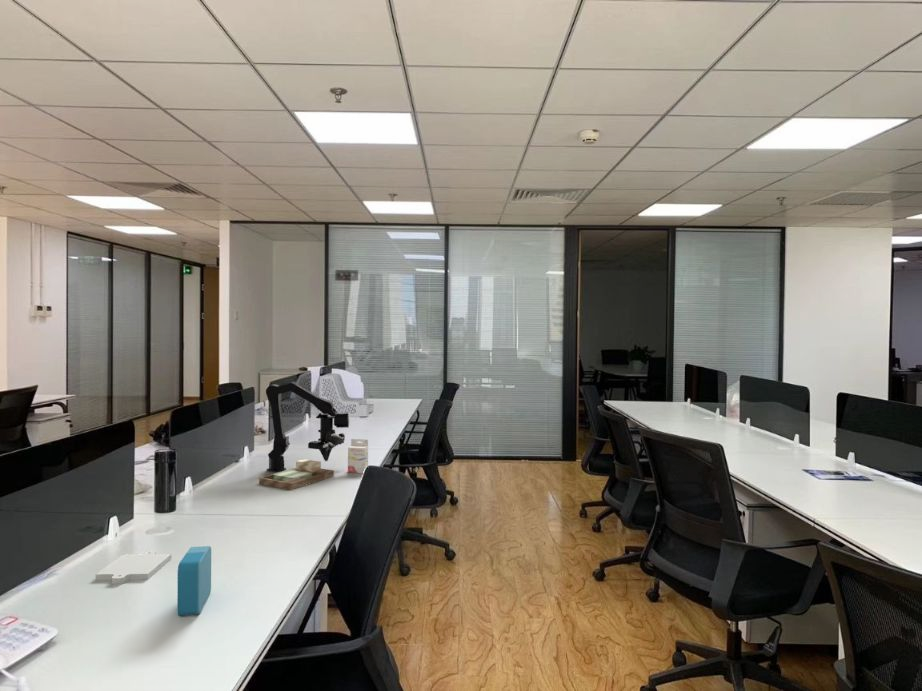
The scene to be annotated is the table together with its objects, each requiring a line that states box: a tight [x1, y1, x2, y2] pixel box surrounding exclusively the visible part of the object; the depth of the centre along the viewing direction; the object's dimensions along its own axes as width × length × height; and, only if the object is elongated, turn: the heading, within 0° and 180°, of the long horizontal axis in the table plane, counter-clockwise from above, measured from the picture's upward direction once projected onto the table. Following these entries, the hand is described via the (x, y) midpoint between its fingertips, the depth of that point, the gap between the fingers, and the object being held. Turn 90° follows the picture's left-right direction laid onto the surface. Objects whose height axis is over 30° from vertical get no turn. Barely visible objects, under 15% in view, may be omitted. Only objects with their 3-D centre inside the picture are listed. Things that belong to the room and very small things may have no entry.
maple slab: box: [295, 458, 322, 472], centre depth 252 cm, size 10×5×4 cm, turn 62°
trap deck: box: [258, 467, 335, 491], centre depth 243 cm, size 18×26×2 cm
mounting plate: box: [95, 550, 172, 585], centre depth 149 cm, size 18×13×2 cm
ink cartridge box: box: [347, 438, 369, 474], centre depth 258 cm, size 9×5×15 cm, turn 84°
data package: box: [176, 545, 212, 616], centre depth 130 cm, size 12×4×12 cm, turn 12°
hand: (326, 460), depth 262 cm, fingers closed
